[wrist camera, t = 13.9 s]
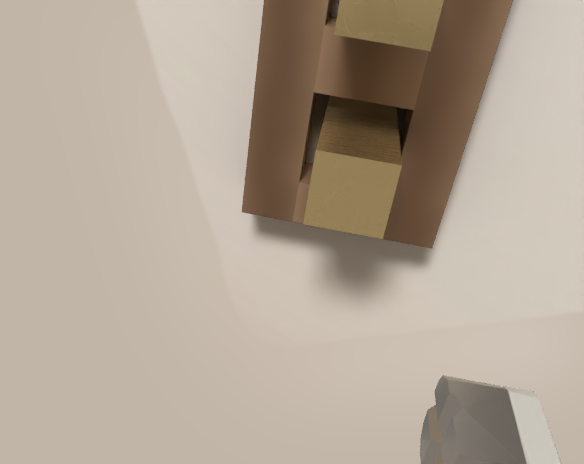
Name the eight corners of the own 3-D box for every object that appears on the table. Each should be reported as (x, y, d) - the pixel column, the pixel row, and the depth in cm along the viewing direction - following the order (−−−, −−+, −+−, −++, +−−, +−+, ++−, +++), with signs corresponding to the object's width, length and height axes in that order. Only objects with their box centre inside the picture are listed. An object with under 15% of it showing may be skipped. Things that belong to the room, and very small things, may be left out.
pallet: (540, -135, 26) (558, -141, 23) (428, 224, 36) (432, 248, 34) (292, -174, 26) (283, -184, 24) (251, 191, 37) (241, 212, 34)
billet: (396, 106, 32) (401, 165, 25) (381, 166, 35) (382, 239, 27) (330, 94, 33) (315, 149, 25) (319, 155, 35) (303, 224, 27)
